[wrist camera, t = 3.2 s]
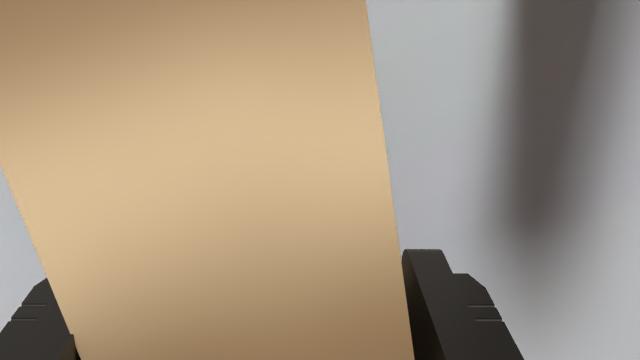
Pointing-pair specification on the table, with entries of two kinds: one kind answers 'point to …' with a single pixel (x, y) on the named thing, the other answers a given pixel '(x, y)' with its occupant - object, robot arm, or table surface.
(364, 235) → the shelf board
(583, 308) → the table surface
